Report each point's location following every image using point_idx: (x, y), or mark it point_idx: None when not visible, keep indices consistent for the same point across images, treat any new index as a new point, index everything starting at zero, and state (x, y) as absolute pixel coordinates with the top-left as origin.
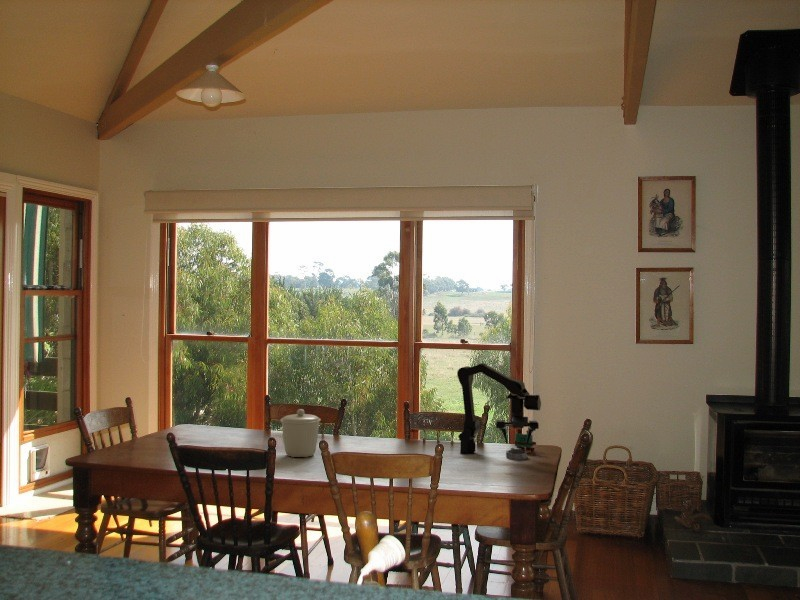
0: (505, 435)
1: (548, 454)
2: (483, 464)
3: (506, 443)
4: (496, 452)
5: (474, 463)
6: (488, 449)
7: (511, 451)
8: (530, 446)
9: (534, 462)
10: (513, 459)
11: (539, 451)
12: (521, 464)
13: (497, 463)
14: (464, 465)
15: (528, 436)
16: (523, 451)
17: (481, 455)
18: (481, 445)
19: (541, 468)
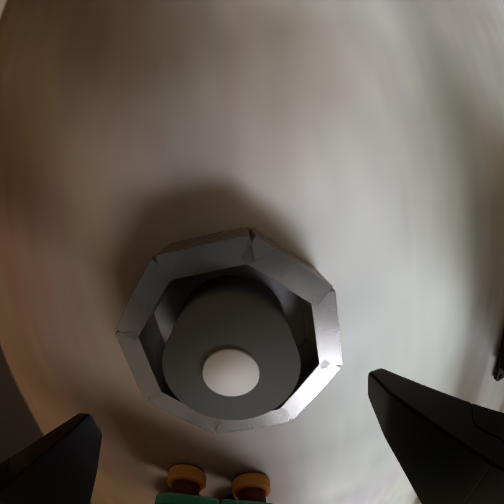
0: (465, 425)
1: None
2: (428, 19)
3: (375, 371)
4: None
5: (474, 48)
6: None
7: (282, 320)
8: (161, 497)
9: (54, 184)
10: (243, 228)
11: (137, 490)
12: (146, 63)
13: (356, 45)
14: (486, 13)
15: (19, 466)
16: (168, 394)
17: (481, 296)
18: None
19: (26, 35)
